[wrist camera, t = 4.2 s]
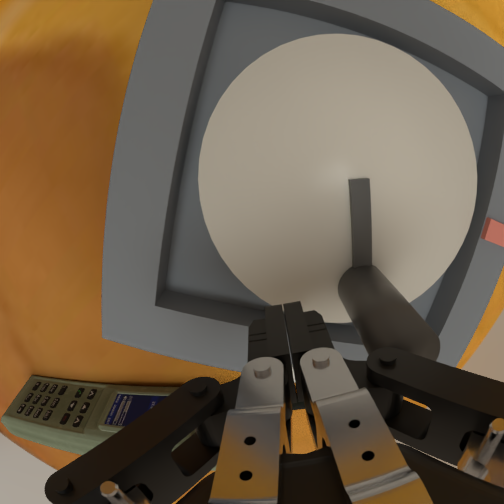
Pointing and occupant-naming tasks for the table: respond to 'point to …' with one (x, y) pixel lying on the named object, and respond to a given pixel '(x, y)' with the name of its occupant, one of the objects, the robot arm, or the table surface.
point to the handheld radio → (81, 411)
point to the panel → (187, 166)
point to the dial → (340, 184)
